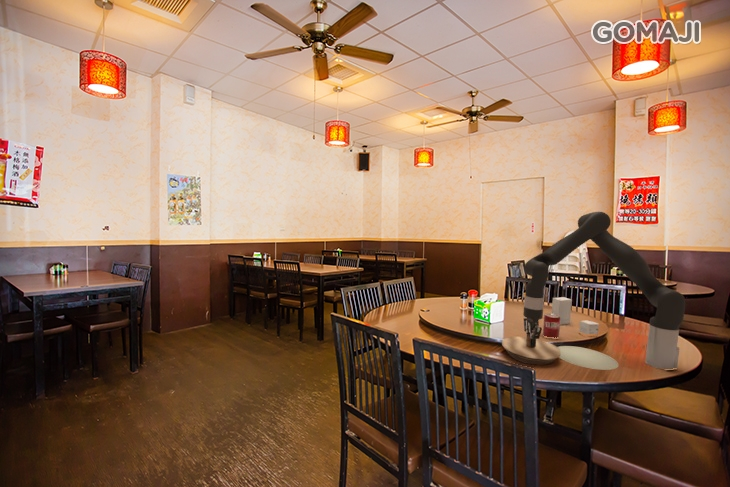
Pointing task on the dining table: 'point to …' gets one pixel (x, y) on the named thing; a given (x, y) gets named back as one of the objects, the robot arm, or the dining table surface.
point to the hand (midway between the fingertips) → (530, 344)
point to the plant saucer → (529, 361)
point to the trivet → (587, 358)
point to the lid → (531, 348)
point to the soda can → (551, 325)
